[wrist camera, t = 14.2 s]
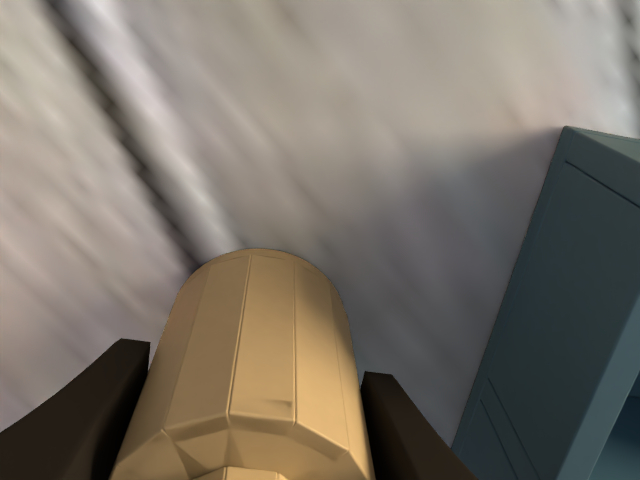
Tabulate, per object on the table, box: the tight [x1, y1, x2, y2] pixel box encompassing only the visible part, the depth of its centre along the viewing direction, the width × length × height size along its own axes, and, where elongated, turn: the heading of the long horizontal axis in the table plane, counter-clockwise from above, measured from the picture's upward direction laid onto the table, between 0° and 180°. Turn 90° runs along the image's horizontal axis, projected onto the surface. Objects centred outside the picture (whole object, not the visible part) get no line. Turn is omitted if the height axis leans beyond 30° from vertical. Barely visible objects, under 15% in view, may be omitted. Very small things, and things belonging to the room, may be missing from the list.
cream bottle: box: [108, 249, 376, 480], centre depth 12 cm, size 4×5×8 cm
